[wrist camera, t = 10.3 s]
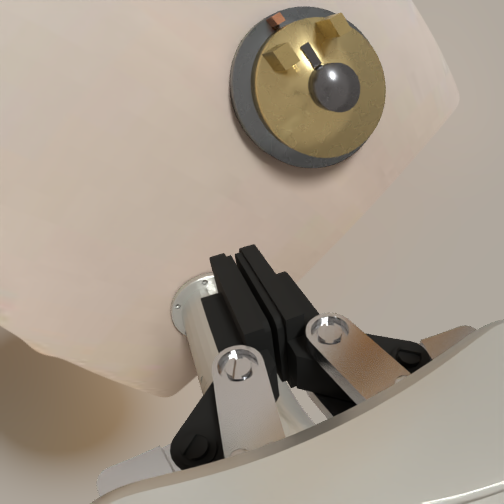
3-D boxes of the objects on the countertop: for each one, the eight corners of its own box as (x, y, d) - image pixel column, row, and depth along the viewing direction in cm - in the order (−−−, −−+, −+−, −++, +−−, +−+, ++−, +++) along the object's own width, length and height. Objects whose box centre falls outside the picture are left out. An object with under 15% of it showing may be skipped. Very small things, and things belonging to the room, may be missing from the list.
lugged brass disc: (390, 108, 38) (417, 114, 33) (302, 180, 39) (323, 194, 35) (332, 0, 28) (358, -8, 23) (219, 67, 29) (232, 62, 24)
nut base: (378, 153, 43) (392, 158, 40) (243, 180, 38) (252, 188, 36) (369, 15, 31) (384, 13, 28) (217, 11, 27) (224, 4, 24)
